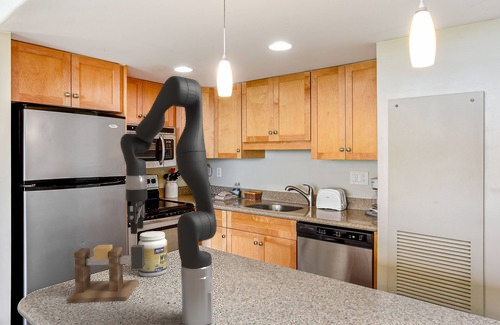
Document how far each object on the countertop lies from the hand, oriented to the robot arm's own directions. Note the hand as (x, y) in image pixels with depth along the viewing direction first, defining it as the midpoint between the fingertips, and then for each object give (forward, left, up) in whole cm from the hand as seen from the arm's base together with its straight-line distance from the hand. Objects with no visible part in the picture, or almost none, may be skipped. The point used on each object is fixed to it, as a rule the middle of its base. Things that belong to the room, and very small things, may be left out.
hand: (137, 231), depth 124 cm
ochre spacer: (+12, 0, -9) cm, 16 cm away
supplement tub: (-1, -20, -23) cm, 30 cm away
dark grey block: (+10, 0, -14) cm, 17 cm away
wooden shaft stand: (+13, 0, -23) cm, 26 cm away
